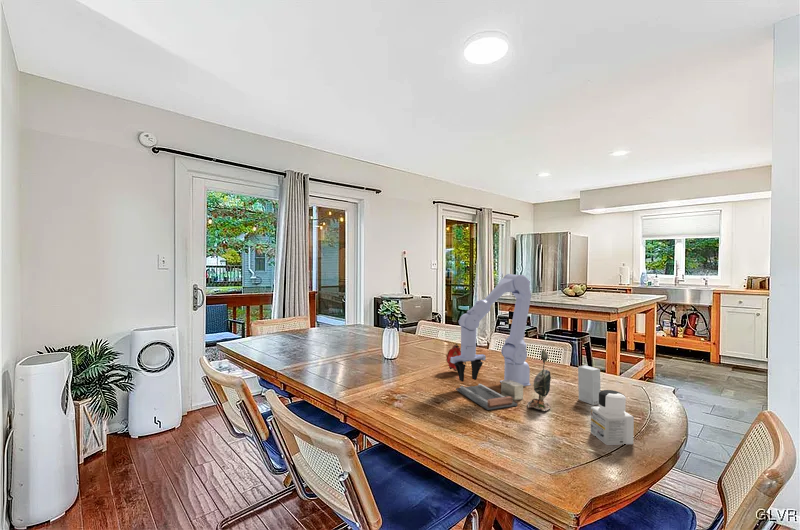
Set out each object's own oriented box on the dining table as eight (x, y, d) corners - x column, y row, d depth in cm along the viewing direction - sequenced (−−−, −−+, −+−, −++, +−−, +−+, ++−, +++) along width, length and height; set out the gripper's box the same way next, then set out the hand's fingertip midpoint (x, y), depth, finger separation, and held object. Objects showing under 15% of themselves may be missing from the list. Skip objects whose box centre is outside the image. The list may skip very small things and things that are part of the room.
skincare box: (601, 403, 134) (601, 369, 134) (592, 405, 132) (593, 370, 132) (585, 398, 140) (586, 364, 140) (577, 400, 138) (577, 366, 138)
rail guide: (482, 386, 151) (482, 379, 151) (517, 405, 132) (517, 397, 132) (455, 389, 147) (455, 383, 147) (487, 410, 127) (487, 402, 127)
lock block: (508, 392, 145) (508, 379, 145) (523, 398, 139) (523, 384, 139) (500, 394, 143) (500, 380, 143) (514, 400, 137) (514, 386, 137)
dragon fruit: (461, 375, 166) (461, 347, 166) (442, 372, 170) (443, 345, 170) (468, 370, 173) (468, 343, 173) (450, 367, 177) (450, 341, 177)
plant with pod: (558, 405, 132) (559, 346, 132) (544, 414, 124) (545, 352, 124) (535, 399, 138) (536, 343, 138) (520, 407, 130) (521, 348, 130)
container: (590, 433, 111) (590, 387, 111) (615, 432, 112) (616, 387, 112) (606, 445, 104) (607, 397, 103) (633, 445, 104) (634, 396, 104)
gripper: (478, 341, 156) (478, 375, 157) (446, 344, 151) (446, 378, 151) (488, 345, 150) (488, 380, 150) (455, 348, 145) (455, 384, 145)
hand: (467, 380), depth 150 cm, fingers open, 5 cm apart
